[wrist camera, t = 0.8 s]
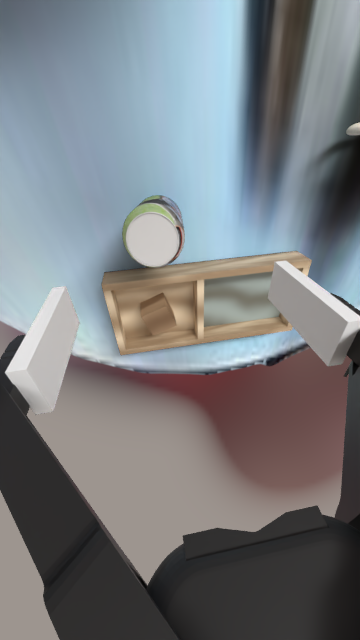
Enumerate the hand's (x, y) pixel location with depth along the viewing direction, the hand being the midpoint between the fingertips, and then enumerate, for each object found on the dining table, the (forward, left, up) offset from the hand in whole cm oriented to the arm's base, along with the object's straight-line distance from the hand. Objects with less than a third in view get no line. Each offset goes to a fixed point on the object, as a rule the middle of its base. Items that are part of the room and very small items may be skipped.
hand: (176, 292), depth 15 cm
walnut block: (+13, -1, -19) cm, 24 cm away
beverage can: (0, 0, -21) cm, 21 cm away
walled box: (+13, +7, -20) cm, 25 cm away
